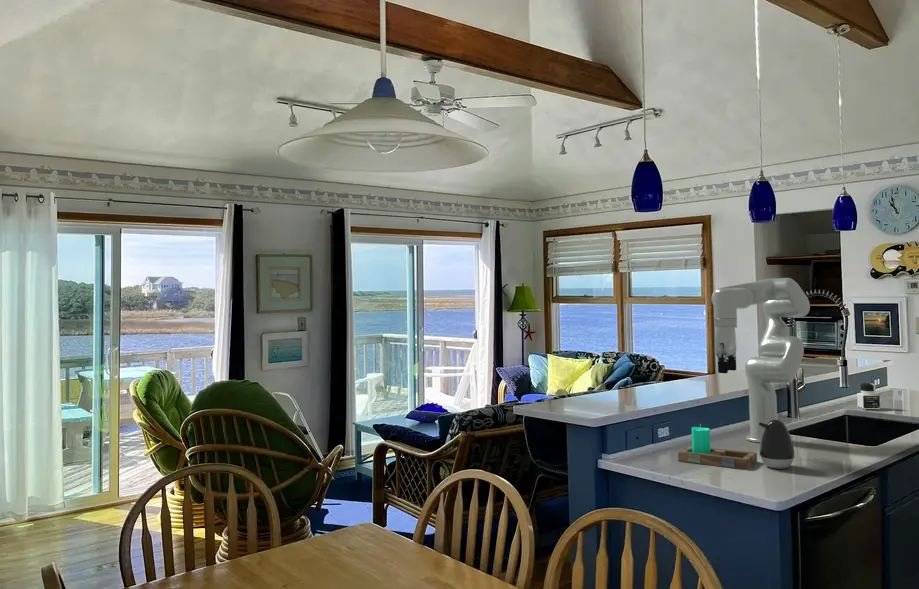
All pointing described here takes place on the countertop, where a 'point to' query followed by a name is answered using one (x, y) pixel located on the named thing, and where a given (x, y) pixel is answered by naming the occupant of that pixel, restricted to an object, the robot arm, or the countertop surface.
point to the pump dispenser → (776, 445)
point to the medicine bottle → (868, 396)
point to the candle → (700, 440)
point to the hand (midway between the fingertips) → (727, 371)
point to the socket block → (719, 458)
